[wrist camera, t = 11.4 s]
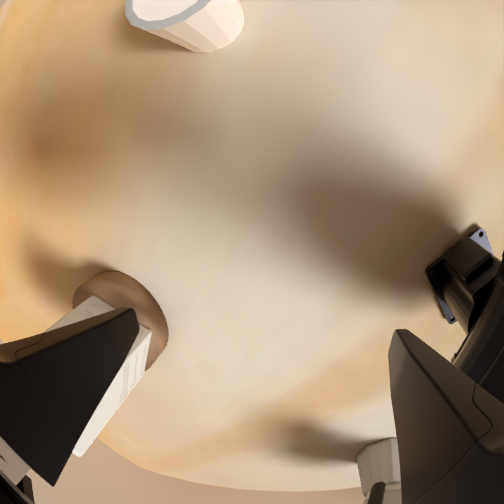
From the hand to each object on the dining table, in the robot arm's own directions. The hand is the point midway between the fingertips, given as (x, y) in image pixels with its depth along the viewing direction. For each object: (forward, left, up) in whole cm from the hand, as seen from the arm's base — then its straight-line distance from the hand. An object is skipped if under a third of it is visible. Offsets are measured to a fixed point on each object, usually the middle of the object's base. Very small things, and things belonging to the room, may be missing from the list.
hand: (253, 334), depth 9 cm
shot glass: (+17, -6, -13) cm, 22 cm away
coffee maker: (-32, +7, -13) cm, 35 cm away
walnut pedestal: (+3, +20, -13) cm, 24 cm away
